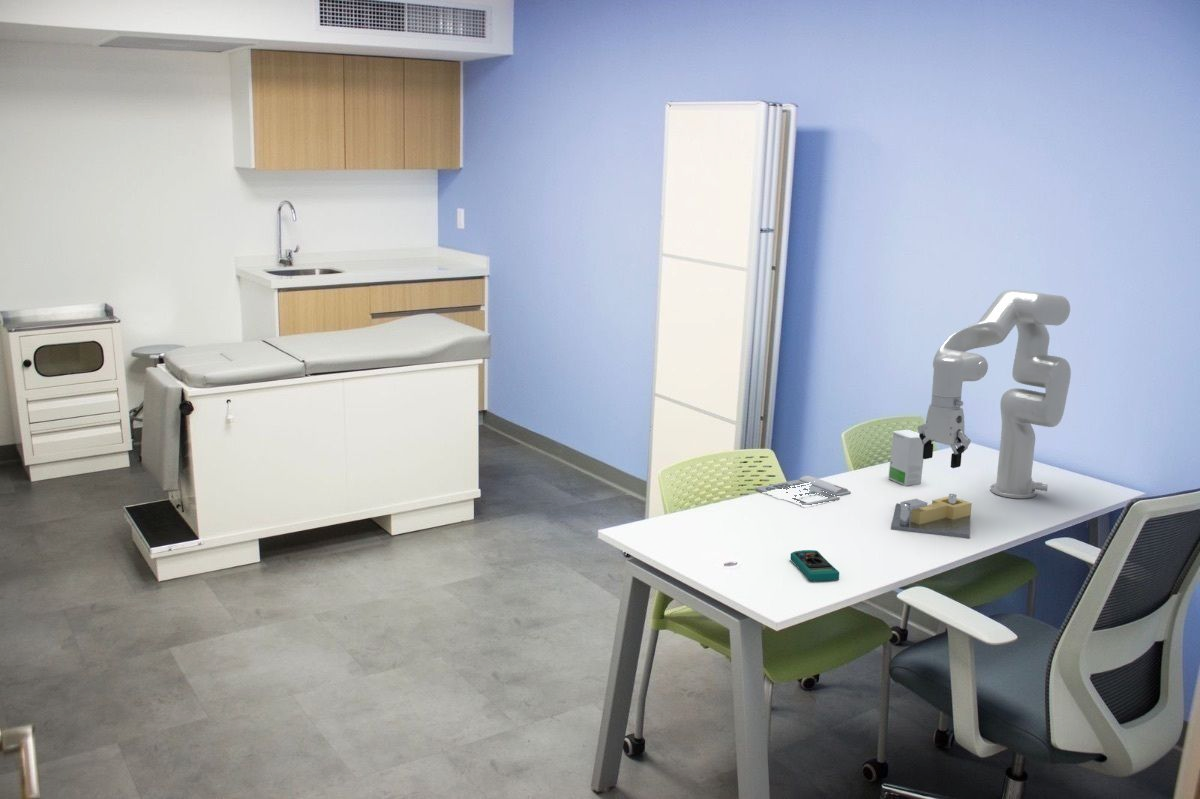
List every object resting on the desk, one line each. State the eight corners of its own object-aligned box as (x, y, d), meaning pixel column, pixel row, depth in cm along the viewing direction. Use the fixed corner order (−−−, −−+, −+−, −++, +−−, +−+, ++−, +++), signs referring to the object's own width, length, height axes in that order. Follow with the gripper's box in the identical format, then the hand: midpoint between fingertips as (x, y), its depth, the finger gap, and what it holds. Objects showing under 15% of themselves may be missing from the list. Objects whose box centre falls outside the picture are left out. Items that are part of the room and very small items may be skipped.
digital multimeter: (817, 559, 261) (817, 548, 260) (839, 582, 246) (840, 570, 246) (788, 561, 260) (789, 549, 259) (810, 584, 245) (810, 572, 245)
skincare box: (887, 479, 326) (891, 430, 322) (904, 476, 328) (908, 428, 325) (906, 486, 318) (909, 437, 315) (922, 484, 321) (926, 435, 317)
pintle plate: (969, 514, 293) (971, 491, 292) (969, 538, 275) (971, 513, 273) (896, 506, 300) (897, 483, 298) (890, 529, 281) (892, 505, 280)
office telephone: (811, 472, 326) (859, 489, 309) (811, 480, 326) (859, 497, 310) (755, 483, 313) (802, 501, 297) (754, 491, 314) (801, 510, 297)
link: (948, 507, 296) (949, 495, 295) (970, 515, 290) (971, 503, 289) (904, 519, 286) (905, 506, 285) (925, 526, 280) (926, 514, 279)
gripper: (981, 406, 275) (976, 468, 279) (930, 393, 290) (926, 453, 294) (962, 410, 272) (957, 473, 276) (911, 396, 286) (907, 457, 290)
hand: (941, 462), depth 285 cm, fingers open, 9 cm apart
